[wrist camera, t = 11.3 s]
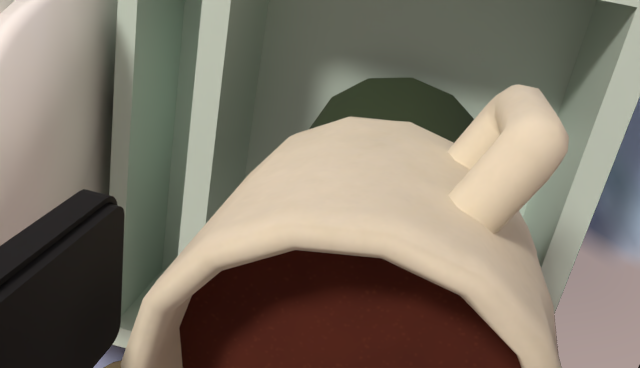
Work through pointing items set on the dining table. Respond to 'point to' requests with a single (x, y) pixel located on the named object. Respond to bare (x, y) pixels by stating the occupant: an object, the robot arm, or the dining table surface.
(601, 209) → the dining table surface
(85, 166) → the racked plates
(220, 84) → the dish rack
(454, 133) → the character mug
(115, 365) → the squeeze bottle
